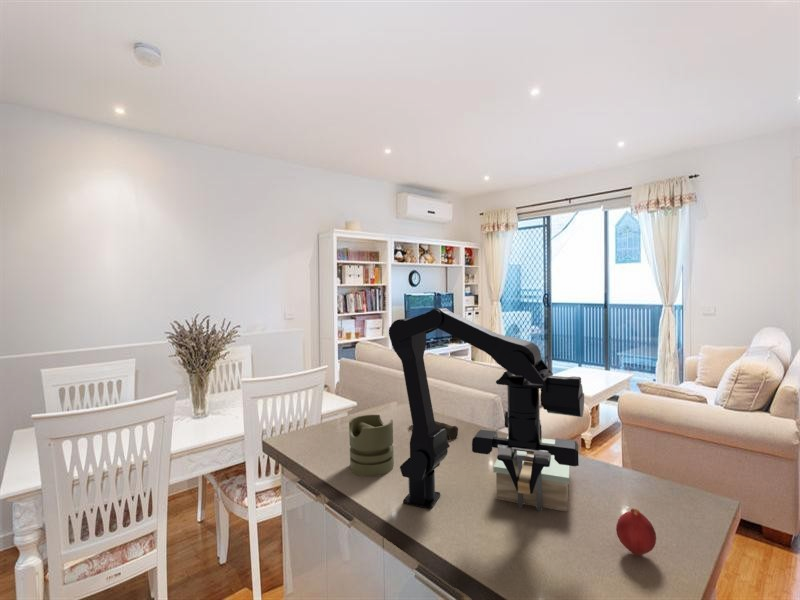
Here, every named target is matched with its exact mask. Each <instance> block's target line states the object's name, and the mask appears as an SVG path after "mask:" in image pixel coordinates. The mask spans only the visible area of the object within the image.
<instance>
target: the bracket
mask: <svg viewBox="0 0 800 600" xmlns="http://www.w3.org/2000/svg"><path fill="white" fill-rule="evenodd" d="M533 458H534V456H531V455H524V454H517V462H518V470H519V476H520V473H521V470H522V467H523V461H529V462H533ZM536 500H537V506H536V511H537V512H543V507H542V471H541V473H540V474H539V476H538V479H537V482H536ZM517 508H519V509H520V508H521V509H524V504H523V493H518V503H517Z"/></svg>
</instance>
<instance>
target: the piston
mask: <svg viewBox="0 0 800 600" xmlns="http://www.w3.org/2000/svg"><path fill="white" fill-rule="evenodd" d="M348 430H349V431H348V433H349V434H348V435H349V437H348V438H349V446H350V448H349V462H350V463H349V470H350V472H351V473H353V474H355V475H356V476H360V477H365V478H366V477H369V478H371V477H379V475H380V476H383V474H384V475H387V474H389V473H390V472H392V471H393V470H394V468H395V462H394V457H395V456H394V445H393V444H394V420H393V418H392V419H390V421H389V422H388V423H386V424H385V423H384V422H383V421H382V418H381V415H380V414H364V415H359V416H355V417H353V418H350V420H349V422H348ZM393 467H394V468H393ZM388 472H389V473H388ZM386 473H387V474H386Z"/></svg>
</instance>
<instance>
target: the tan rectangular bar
mask: <svg viewBox="0 0 800 600" xmlns="http://www.w3.org/2000/svg"><path fill="white" fill-rule="evenodd" d="M526 455H531V456H534V455H533V454H526ZM531 471H532V462H529V461H524V463H523V467H522V470H521V473H520V476H519V480H518V493H524V494H530V480H531Z"/></svg>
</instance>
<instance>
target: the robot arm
mask: <svg viewBox="0 0 800 600" xmlns="http://www.w3.org/2000/svg"><path fill="white" fill-rule="evenodd" d="M437 330H441V331H443V332H444V333H445V334H448V335H450V336H452V337H454V338H456V339H459V340H461V341H463V342H464V343H466V344H468V345H470V346H471V347H472V346H473V347H474V348H476V349H478V350H480V351H482V352H484V353H485V354H487V355H488V356H490V357H491V359H492V360H494V362H495V363H496V364H497V365H499V366H500V367H501V368H502V369H504V370H506V371H504V372H503V374H501V376H500V377H499V379H496V381H495V384H496V385H501V386H506V387H507V411H505V414H504V428H507V437H508V439H507V437H505V438H504V437H499V436H498V432H497V430H486V429H479V430H478V431H477V432H476V433H475V435H474V436H473V437H472V441H471V452H473V453H475V454H481V455H489V454H490V453H491V452H493V449H494V448H495V449H497V452H498V453H497V456H496V460H497V459H498V460H500V461H503V463H504V465H505V467H506V468H507V470H508V472H509V474H510V476H511V478H512V481H513V483H514V485H515V488H516V490H517V491H518V480H519V470H518V462H517V451H525V452H532V453H534V458H533V462H532V471H531V480H530V494H533V491H534V488H535V485H536V482H537V479H538V476H539V474H540V473H541V471H542V469H543V467H549V466H550V461H551V455H554V459H555V460H556V461H557V462H558V464H561V465H568V466H570V467H577V466H579V464H580V463H579V461H580V459H579V443H578V442H577V441H576V440H574V439H567V438H559V437H556V438H555V439H554V440H555V444H548V443H540V440H541V438H543V436H542V432H543V431H542V432H541V430H542V423H541V419H540V417H541V416H540V411H541V410H540V405H541V407H542V408H543V410H546V412H547V413H548V414H553V415H554V414H555V415H561V416H562V415H563V416H569V417H570V416H571V417H578V418H582V417H583V415H584V412H585V411H584V410H585V393H584V392H583V385H582V378H581V377H580V376H561V375H560V376H559V375H557V376H556V375H554V374H553V372H552V371H551V369H550V368H549V367H548V366H547V363H546V362H544V360H543V358H542V353H541V351H540V348H539V346H538V345H536V344H535V343H534V342H532V341H529V340H526V339H522V338H518V337H514V336H508V335H503V334H499V333H496V332H495V331H493V330H491V329H489V328H486V327H484V326H482V325H479V324H477V323H475V322H473V321H472V320H469V319H466V318H465V317H463V316H461V315H458V314H456V313H455V312H452V311H451V310H449V309H448V308H445V307H438V308H437V307H435V308H433V309H431V310H430V311H428V312H425V313H423V314H422V313H421V314H419V315H417V316H413V317H409V318H399V319H396V320H394V321H393V322H392V323H391V325H390V327H389V328H388V337H389V341H390V342H391V346H392V348H393V351H394V353H395V354H396V355H397V357H398V358H399V360H400V361H401V364H402V365H401V366H402V371H403V376H404V381H405V387H406V394H407V399H408V404H409V409H410V410H409V411H410V417H411V423H413V424H412V431H411V435H410V440H409V457H408V459H406V460H405V461H404V462H403V463H402V464H401V465H400V466H399V470H400V472H401V476H402V477H403V478H408V480H407V481H408V494H407V495H405V497H404V499H403V500H402V503H403V504H405V505H409V506H410V505H411V506H415V507H421V508H425V509H432V508H433V507H434V506H435V504H436V503H437V501H438V499H439V498H440V496H441V492H440V491H436V479H435V478H436V477H435V475H436V474H435V469H436V468H438V467H439V466H440V464H441V463H442V462H443V460H445V459H446V457H447V455H448V453H449V452H448V450H449V448H450V444H449V442H448V437H447V432H446V429H441V430H440V429H439V427H438V426H437V424H436V423H435V421H436V420H435V417H434V416H435V415H434V410H433V404H432V398H431V393H430V388H429V381H428V376H427V372H426V365H425V360H424V355H425V351H426V346H427V335H428V334H430V333H433V332H435V331H437Z"/></svg>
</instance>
